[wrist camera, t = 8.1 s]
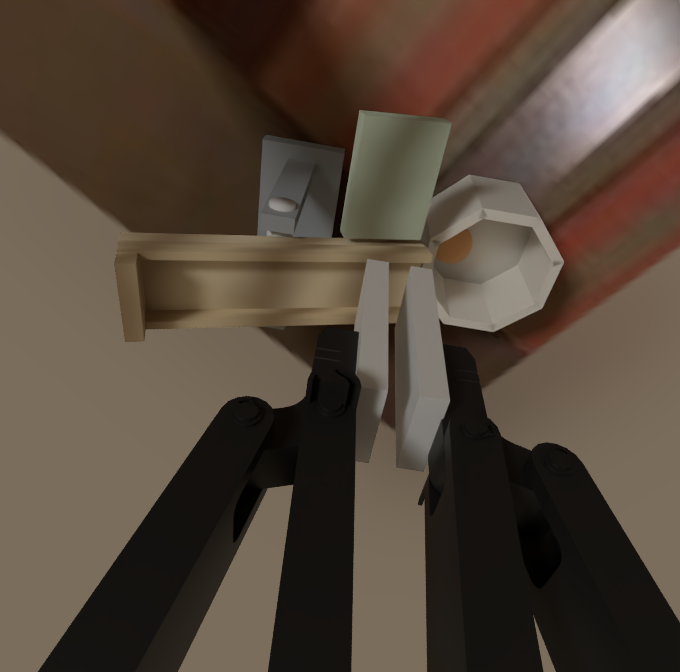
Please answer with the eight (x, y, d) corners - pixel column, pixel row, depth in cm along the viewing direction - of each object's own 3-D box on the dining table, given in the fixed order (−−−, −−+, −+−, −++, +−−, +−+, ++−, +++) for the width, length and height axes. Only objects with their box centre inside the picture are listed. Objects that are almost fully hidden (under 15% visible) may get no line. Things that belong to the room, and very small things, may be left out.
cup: (555, 189, 38) (581, 225, 33) (511, 293, 44) (528, 337, 38) (433, 168, 38) (441, 200, 33) (405, 275, 43) (407, 317, 38)
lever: (452, 119, 28) (479, 138, 26) (402, 304, 36) (419, 333, 33) (102, 84, 23) (91, 103, 21) (130, 308, 31) (125, 342, 28)
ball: (479, 236, 37) (437, 228, 37) (466, 274, 39) (426, 266, 39) (476, 219, 39) (435, 211, 39) (463, 255, 41) (425, 248, 41)
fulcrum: (345, 148, 37) (332, 208, 28) (327, 265, 43) (311, 346, 34) (266, 134, 37) (226, 190, 28) (259, 253, 43) (224, 332, 34)
